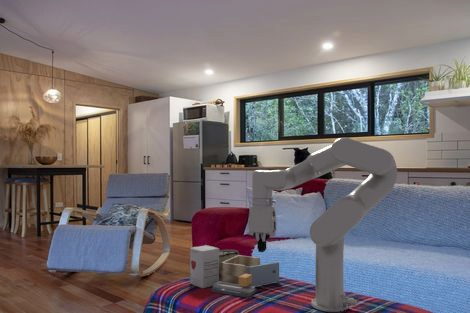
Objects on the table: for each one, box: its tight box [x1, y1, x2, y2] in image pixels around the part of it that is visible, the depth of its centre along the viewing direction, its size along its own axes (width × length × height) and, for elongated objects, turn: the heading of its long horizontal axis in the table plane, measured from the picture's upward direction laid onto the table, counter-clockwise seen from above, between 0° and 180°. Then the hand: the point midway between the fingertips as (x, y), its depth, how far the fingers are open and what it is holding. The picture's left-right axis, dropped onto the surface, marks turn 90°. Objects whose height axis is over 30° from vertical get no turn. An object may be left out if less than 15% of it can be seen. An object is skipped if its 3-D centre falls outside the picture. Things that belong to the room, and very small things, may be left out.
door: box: [246, 261, 280, 288], centre depth 160 cm, size 2×17×8 cm, turn 123°
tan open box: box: [219, 254, 261, 284], centre depth 166 cm, size 11×16×9 cm
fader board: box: [210, 280, 258, 299], centre depth 152 cm, size 16×8×2 cm, turn 63°
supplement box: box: [189, 244, 220, 289], centre depth 162 cm, size 9×9×15 cm
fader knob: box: [239, 274, 252, 288], centre depth 150 cm, size 3×5×5 cm, turn 153°
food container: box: [219, 249, 240, 277], centre depth 179 cm, size 12×6×10 cm, turn 130°
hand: (261, 251), depth 147 cm, fingers closed
